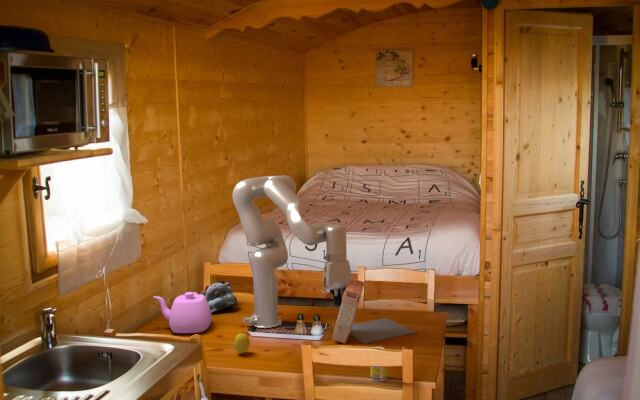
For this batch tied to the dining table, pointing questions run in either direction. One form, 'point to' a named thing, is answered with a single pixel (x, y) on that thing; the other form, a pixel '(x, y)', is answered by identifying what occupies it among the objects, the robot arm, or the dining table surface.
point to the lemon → (241, 343)
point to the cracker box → (348, 311)
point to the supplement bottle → (378, 372)
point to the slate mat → (378, 330)
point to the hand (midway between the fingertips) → (337, 305)
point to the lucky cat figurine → (219, 296)
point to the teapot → (187, 313)
